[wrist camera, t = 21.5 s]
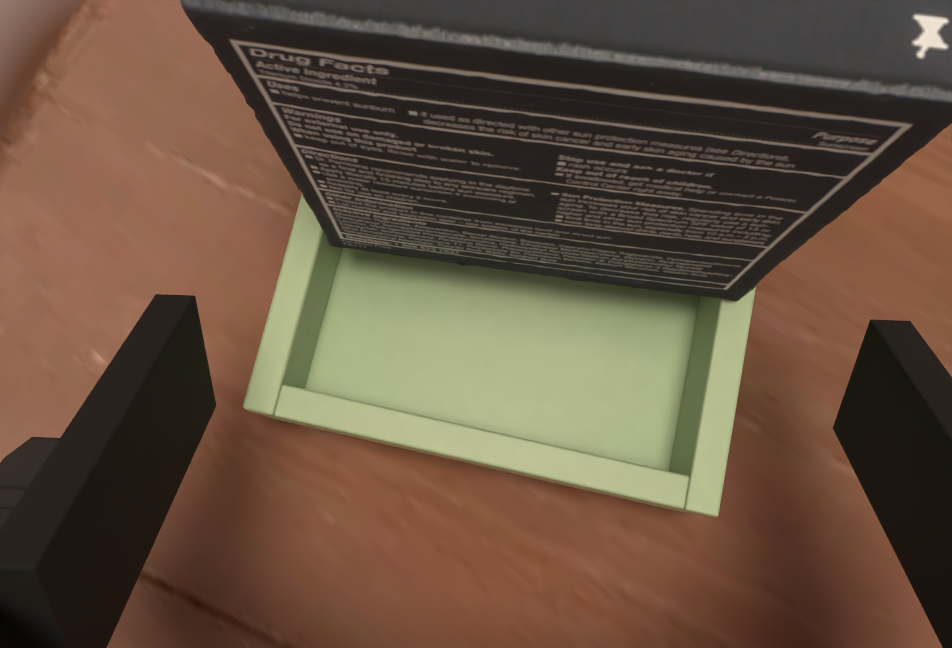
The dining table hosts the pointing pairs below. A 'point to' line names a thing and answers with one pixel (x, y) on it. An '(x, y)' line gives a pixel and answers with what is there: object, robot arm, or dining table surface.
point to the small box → (589, 124)
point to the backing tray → (506, 369)
